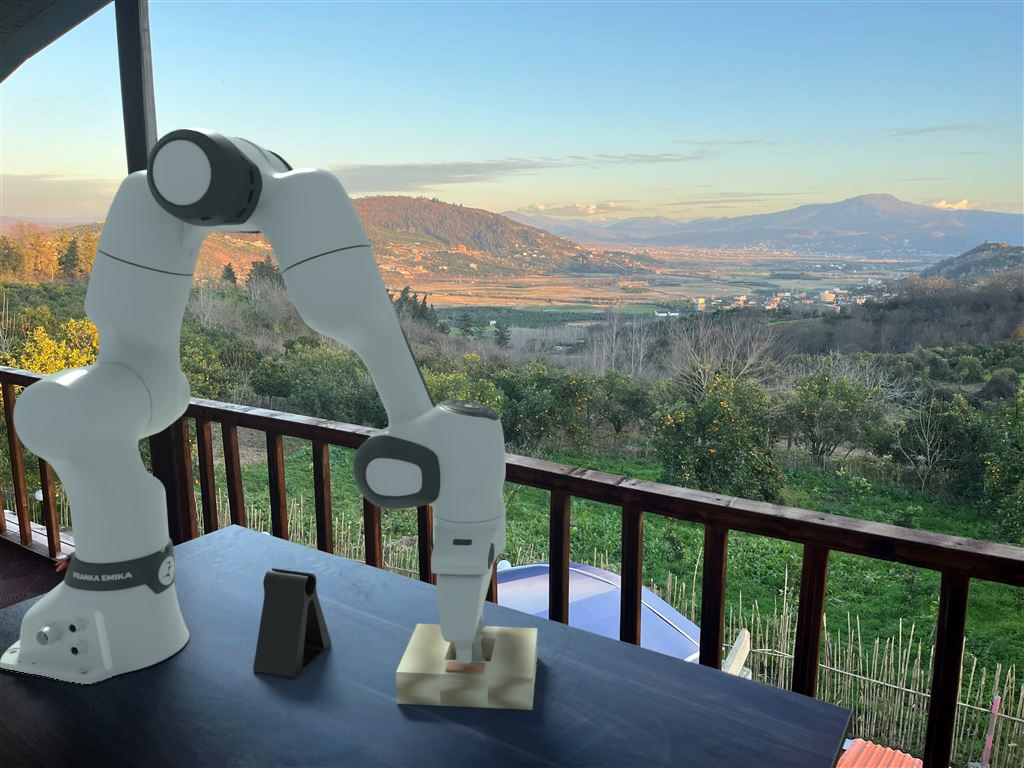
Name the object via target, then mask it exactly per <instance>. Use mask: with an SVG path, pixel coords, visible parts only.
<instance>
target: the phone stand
mask: <svg viewBox="0 0 1024 768" xmlns="http://www.w3.org/2000/svg"><path fill="white" fill-rule="evenodd" d="M262 583H263V585H262V586H263V593H264V595H263V596H264V597H263V603H262V609H261V617H260V622H259V627H258V628H259V629H258V637H257V643H256V647H255V648H256V649H255V655H254V662H253V666H252V667H253V669H252V671H253V672H254V673H260V674H265V675H271V676H275V677H276V676H277V677H282V678H288V679H291V680H292V679H293V680H296V679H297V678H298V677H299V676H300V675H302V673H303V672H305V670H306V671H307V669H308V668H309V667H310V666H311V665H312V664H313V663H314V662H315V661H317V659H319V658H320V657H321V656H322V655H323V654H324V653H325V652H327V650H329V649H330V648H331V647H332V641H331V637H330V634H329V633H330V632H329V630H328V627H327V624H326V620H325V616H324V613H323V609H322V607H321V604H320V600H319V597H318V593H317V576H316V575H315V574H314V573H309V572H302V571H297V570H289V569H280V568H273V567H272V568H271V570H267V571H266V573H265V575H264V578H263V581H262Z"/></svg>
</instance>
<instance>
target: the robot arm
mask: <svg viewBox="0 0 1024 768" xmlns="http://www.w3.org/2000/svg"><path fill="white" fill-rule="evenodd" d="M216 231H221V232H226V233H232V234H233V233H242V234H243V233H244V234H262V236H263V237H264V238H265V239H266V240H267V241H268V243H269V244H270V247H271V248H272V251H273V254H274V256H275V259H276V262H277V265H278V267H279V271H280V274H281V277H282V280H283V284H284V285H285V288H286V290H287V293H288V296H289V298H290V300H291V302H292V304H293V306H294V308H295V309H296V310H297V313H298V314H299V316H300V318H301V319H302V321H303V322H304V324H305V325H307V326H308V327H309V328H310V329H312V330H313V331H315V332H317V333H318V334H319V335H322V336H325V337H328V338H329V339H333V340H334V341H337V342H338V343H341V345H344V346H345V347H348V349H349V350H351V351H353V353H355V354H357V356H358V357H359V358H360V359H361V360H362V362H363V363H364V365H365V367H366V368H367V371H368V372H369V374H370V377H371V379H372V380H371V381H372V382H373V384H374V386H375V389H376V391H377V392H378V395H379V399H380V400H381V403H382V404H383V407H384V409H385V412H386V415H387V419H388V426H387V427H385V428H382V429H381V430H379V431H378V432H376V433H374V434H372V435H371V436H370V437H368V438H367V439H366V440H365V441H364V442H363V443H361V445H359V447H358V448H357V449H356V452H355V454H354V458H353V462H352V473H353V479H354V482H355V484H356V487H357V489H358V491H359V492H360V493H361V495H362V496H363V497H364V498H365V499H366V500H367V501H368V502H370V503H371V504H373V505H374V506H376V507H378V508H382V509H386V510H395V509H397V510H398V509H408V508H416V507H417V508H418V507H422V506H427V505H429V506H430V507H432V545H433V546H432V551H431V557H430V569H431V573H433V574H437V575H436V594H437V596H436V598H437V608H438V609H437V610H438V618H439V619H438V621H439V624H440V630H441V634H442V637H443V639H444V640H445V641H446V642H454V644H455V647H456V660H457V662H459V663H467V664H468V663H470V662H471V661H472V657H473V643H472V642H473V641H474V639H475V636H476V632H477V628H478V624H479V621H480V618H481V621H483V619H484V606H485V602H486V597H487V594H488V592H489V591H488V590H489V587H490V582H491V580H492V575H493V569H494V568H493V567H494V563H495V562H496V559H497V558H498V557H499V555H500V554H502V553H503V552H504V551H505V550H506V545H507V539H506V538H507V536H506V535H507V532H506V530H507V529H506V528H507V527H506V526H507V525H506V524H507V522H506V520H507V517H506V515H507V513H506V503H505V500H504V495H503V490H504V489H503V487H504V484H505V479H506V473H507V471H506V465H507V464H506V463H507V461H506V445H505V437H504V430H503V424H502V422H501V418H500V416H499V415H498V413H497V412H496V411H495V410H494V409H492V408H491V407H489V406H487V405H486V404H483V403H481V402H477V401H473V400H466V399H446V400H442V401H440V402H438V403H436V402H435V399H434V398H433V396H432V394H431V392H430V389H429V387H428V385H427V383H426V381H425V378H424V375H423V373H422V370H421V369H420V366H419V363H418V361H417V359H416V356H415V354H414V352H413V349H412V347H411V345H410V343H409V340H408V338H407V335H406V334H405V331H404V329H403V327H402V325H401V323H400V321H399V319H398V315H397V314H396V311H395V308H394V306H393V304H392V301H391V299H390V297H389V294H388V292H387V288H386V286H385V283H384V279H383V277H382V274H381V270H380V268H379V266H378V262H377V260H376V256H375V254H374V250H373V249H372V246H371V243H370V240H369V237H368V234H367V232H366V230H365V228H364V225H363V222H362V220H361V218H360V216H359V214H358V212H357V209H356V208H355V206H354V203H353V202H352V200H351V199H350V196H349V194H348V193H347V191H346V190H345V188H344V187H343V185H342V183H341V182H340V179H339V178H337V177H336V176H335V175H334V174H332V173H331V172H329V171H328V170H325V169H322V168H317V167H300V168H296V169H294V168H293V167H292V165H290V163H288V161H287V160H286V159H284V158H283V157H282V156H281V155H279V154H278V153H276V152H274V151H271V150H269V149H265V148H264V147H263V146H260V145H259V144H256V143H254V142H252V141H250V140H248V139H245V138H241V137H239V136H238V137H237V136H231V135H227V134H221V133H219V132H217V131H215V130H211V129H208V128H201V127H184V128H179V129H176V130H175V129H174V130H172V131H169V132H168V133H166V134H164V135H163V136H162V137H160V138H159V139H158V141H156V143H155V144H154V146H153V147H152V149H151V151H150V153H149V155H148V158H147V163H146V169H144V170H138V171H134V172H132V173H130V174H128V175H126V177H125V178H124V179H123V180H122V181H121V182H120V185H119V187H118V188H117V192H116V193H115V196H114V198H113V200H112V202H111V204H110V206H109V210H108V212H107V214H106V217H105V220H104V223H103V226H102V229H101V231H100V235H99V239H98V243H97V247H96V252H95V256H94V260H93V265H92V269H91V273H90V278H89V282H88V286H87V290H86V293H85V294H86V295H85V298H84V302H83V303H84V304H83V305H84V306H83V307H84V313H85V314H86V317H87V318H88V319H89V321H90V322H91V323H92V324H93V325H94V326H95V327H96V330H97V335H98V354H97V358H96V360H95V361H94V363H93V364H90V365H84V366H83V365H82V366H78V367H77V366H76V367H71V368H66V369H62V370H58V371H56V372H54V373H52V374H49V375H48V376H46V377H43V378H42V379H40V380H38V381H36V382H34V383H32V384H31V385H28V386H27V387H26V388H25V389H24V390H23V391H22V392H21V393H20V395H19V396H18V397H17V400H16V402H15V404H14V408H13V424H14V428H15V429H14V430H15V432H16V434H17V436H18V439H19V440H20V441H21V443H22V444H23V445H24V447H25V448H26V449H27V450H28V451H30V452H31V453H32V454H34V455H35V456H37V457H39V458H40V459H43V460H45V461H46V462H47V463H48V465H50V466H51V468H52V469H53V471H55V474H56V475H57V477H58V478H59V480H60V482H61V484H62V487H63V490H64V491H65V494H66V498H67V501H68V505H69V506H68V507H69V513H70V519H71V520H70V521H71V527H72V535H73V544H74V551H73V552H71V553H69V554H68V555H66V557H65V558H63V559H62V560H60V561H59V562H57V563H55V566H59V567H57V569H56V570H55V571H56V572H60V571H62V570H63V569H65V568H67V569H66V572H65V576H64V579H63V580H62V581H61V582H60V583H59V584H58V585H56V586H55V587H54V588H52V589H51V590H50V591H49V592H48V593H46V594H45V595H44V596H43V597H42V598H40V599H39V600H38V601H37V602H35V603H34V604H33V605H32V606H31V607H30V608H29V609H28V610H27V612H25V615H24V616H23V618H22V621H21V626H20V633H19V639H18V640H17V641H16V642H14V643H13V644H12V645H11V646H10V647H8V649H6V650H5V652H4V653H3V654H2V656H1V657H0V667H1V668H4V669H9V670H15V671H19V672H24V673H29V674H36V675H41V676H46V677H50V678H49V679H51V678H54V679H53V680H56V679H59V680H58V681H62V680H63V682H67V681H68V683H72V682H75V683H74V684H78V683H81V684H80V685H83V684H91V685H93V684H92V683H95V682H98V681H101V682H103V681H105V679H106V680H108V679H110V678H112V676H113V677H115V676H117V675H122V674H126V673H129V672H133V671H137V670H140V669H144V668H148V667H150V666H153V665H155V664H157V663H160V662H162V661H164V660H167V659H168V658H169V657H171V656H174V655H175V654H176V653H177V652H179V651H180V650H182V648H184V647H185V645H186V644H187V643H188V642H189V639H190V632H189V630H188V629H189V628H188V627H187V626H186V623H185V620H184V617H183V615H182V614H183V613H182V612H181V608H180V604H179V601H178V597H177V591H176V587H175V577H176V576H175V575H176V573H175V572H176V571H175V570H176V565H175V563H176V562H175V553H174V552H175V550H174V544H173V540H172V538H170V533H169V522H168V520H169V519H168V505H167V496H166V488H165V486H164V484H163V483H162V481H161V480H160V479H159V478H157V477H156V476H153V475H152V474H149V472H148V470H147V469H146V466H145V464H144V462H143V459H142V456H141V454H140V450H139V449H140V448H139V441H140V440H142V439H144V438H147V437H151V436H153V435H156V434H158V433H160V432H162V431H164V430H166V429H167V428H168V427H169V426H171V425H172V424H174V423H175V422H176V421H177V420H178V419H180V418H181V417H182V416H183V414H185V412H186V411H187V409H188V407H189V405H190V402H191V397H192V396H191V395H192V394H191V392H192V391H191V385H190V381H189V380H188V377H187V376H186V374H185V373H184V371H183V370H182V366H181V351H180V350H181V349H180V347H181V343H180V342H181V341H180V339H181V338H180V337H181V330H182V325H183V324H182V323H183V319H184V316H185V312H186V311H185V310H186V307H187V303H188V299H189V295H190V290H191V285H192V283H193V279H194V275H195V270H196V267H197V262H198V258H199V254H200V250H201V248H202V246H203V242H204V241H205V240H206V239H207V237H208V236H209V235H211V234H212V233H214V232H216ZM19 672H18V673H19ZM24 673H23V674H24ZM29 674H28V675H29ZM107 678H108V679H107ZM102 680H103V681H102ZM98 683H99V682H98ZM95 684H96V683H95Z"/></svg>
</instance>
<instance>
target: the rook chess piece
mask: <svg viewBox="0 0 1024 768" xmlns="http://www.w3.org/2000/svg"><path fill="white" fill-rule="evenodd" d="M482 621H483V620H482ZM482 621H481V618H480V621H479V624H478V628H477V632H476V636H475V639H474V641H473V642H472V643H473V657H472V661H485V658H484V657H483V653H482V647H481V640H482V639H483V636H482V635H481V631H482V630H483V629H484V626H485V624H484V623H483V622H482Z"/></svg>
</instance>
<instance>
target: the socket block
mask: <svg viewBox="0 0 1024 768" xmlns="http://www.w3.org/2000/svg"><path fill="white" fill-rule="evenodd" d="M481 635H482V636H483V639H482V640H481V647H482V653H483V657H484V658H485V661H471V662H470V663H468V664H467V663H459V662H457V660H456V647H455V644H454V642H446V641H445V640H444V639H443V637H442V634H441V630H440V623H438V624H437V623H436V624H435V623H434V624H433V623H417V624H416V626H415V629H414V631H413V633H412V635H411V637H410V639H409V642H408V644H407V647H406V649H405V651H404V652H403V655H402V657H401V659H400V662H399V665H398V666H397V669H396V673H395V679H396V680H395V681H396V704H398V705H400V704H401V705H419V706H420V705H421V706H441V707H442V706H443V707H445V706H446V707H464V708H465V707H466V708H482V709H483V708H484V709H485V708H486V709H489V708H490V709H505V710H506V709H509V710H510V709H511V710H529V711H533V706H534V695H535V686H534V685H536V684H535V683H536V673H537V664H536V663H538V662H537V661H538V628H537V627H536V628H535V627H516V626H515V627H514V626H512V627H511V626H488V625H487V626H485V625H484V629H483V630H482V631H481Z"/></svg>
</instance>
